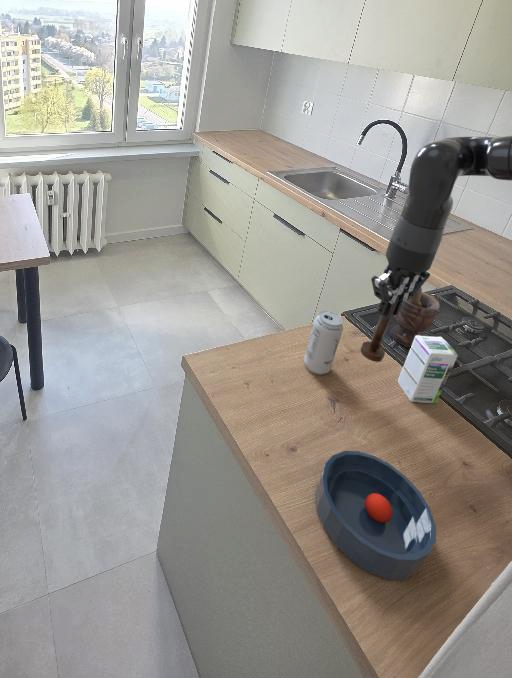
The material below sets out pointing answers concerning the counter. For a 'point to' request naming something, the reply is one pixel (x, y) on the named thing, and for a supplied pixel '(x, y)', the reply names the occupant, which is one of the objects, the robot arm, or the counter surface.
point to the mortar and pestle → (414, 317)
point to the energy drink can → (323, 342)
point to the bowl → (360, 529)
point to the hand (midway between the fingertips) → (387, 313)
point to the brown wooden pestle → (377, 338)
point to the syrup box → (426, 368)
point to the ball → (378, 508)
